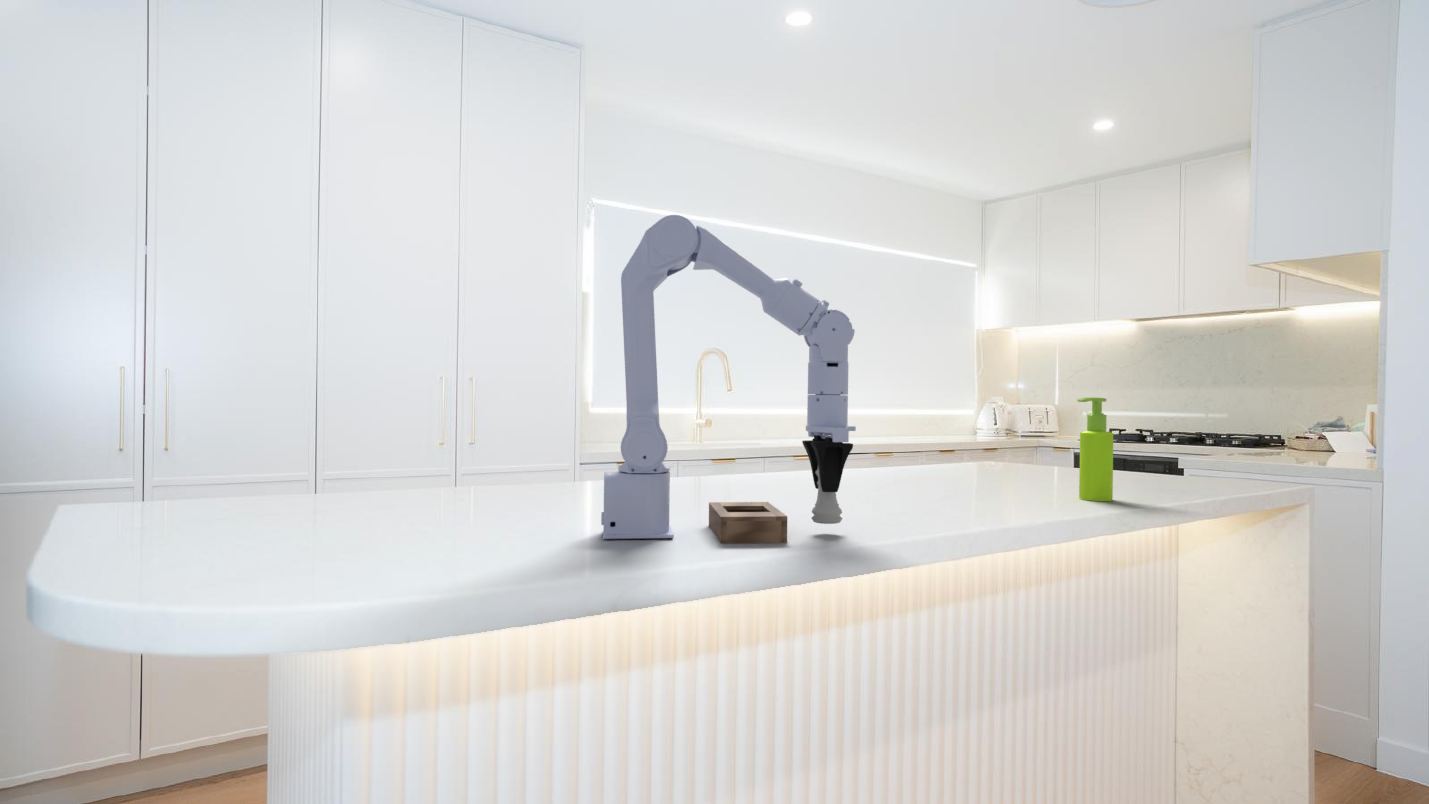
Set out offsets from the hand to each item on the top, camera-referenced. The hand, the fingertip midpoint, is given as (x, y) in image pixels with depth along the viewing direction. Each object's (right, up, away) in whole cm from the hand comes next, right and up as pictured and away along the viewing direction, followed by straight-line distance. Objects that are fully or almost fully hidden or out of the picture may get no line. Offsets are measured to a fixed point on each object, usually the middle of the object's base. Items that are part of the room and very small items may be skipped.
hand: (826, 490), depth 110 cm
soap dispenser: (+58, -7, +41) cm, 72 cm away
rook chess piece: (0, -5, 0) cm, 5 cm away
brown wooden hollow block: (-12, -6, 0) cm, 13 cm away
